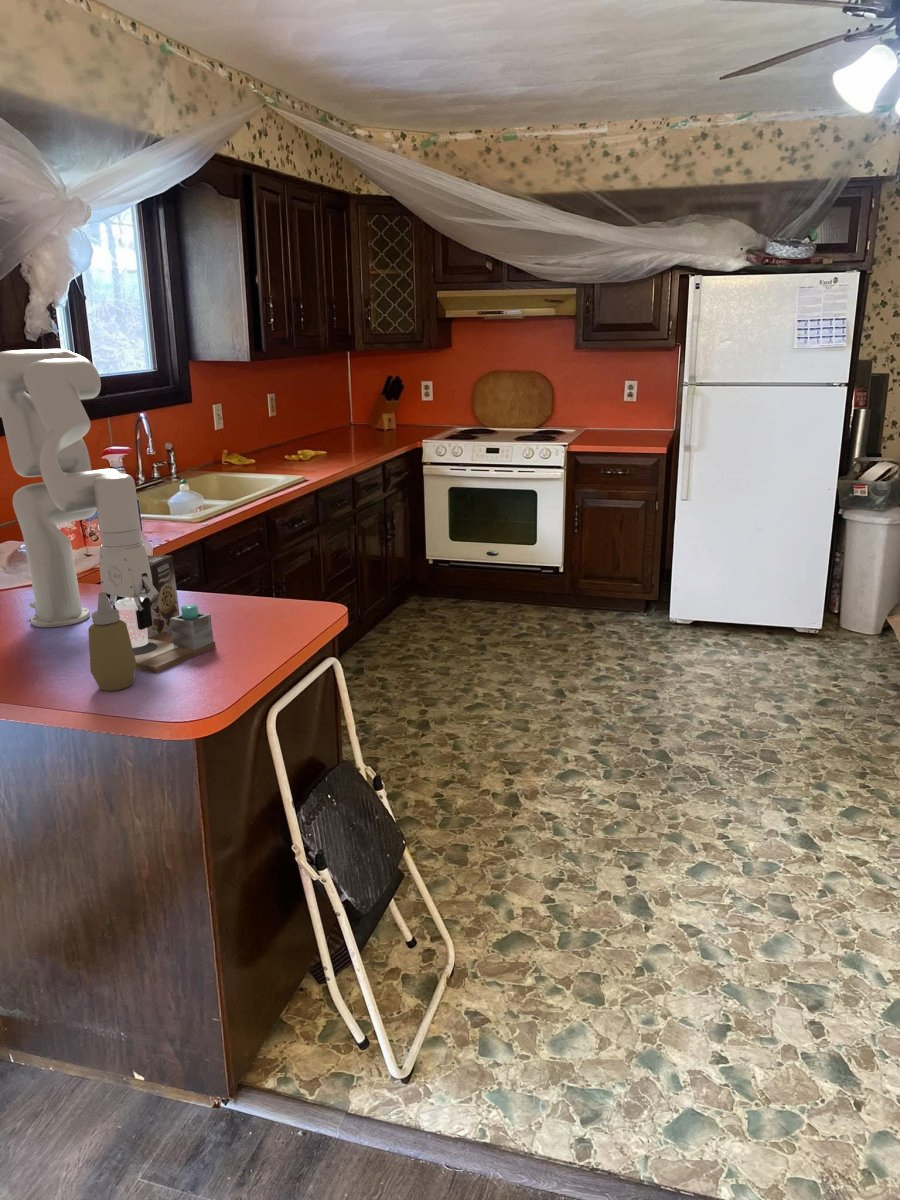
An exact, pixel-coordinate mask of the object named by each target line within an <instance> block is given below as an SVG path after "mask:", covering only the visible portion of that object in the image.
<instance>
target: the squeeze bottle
mask: <svg viewBox="0 0 900 1200" xmlns="http://www.w3.org/2000/svg"><path fill="white" fill-rule="evenodd" d="M97 600H98V601H97V610H96V611H94V612H92V613H91V620H92V624H91V625H90V626H89V627H88V631H87V632H88V648H89V649H88V650H89V667H90V668H89V669H90V673H91V675H92V677H93V678H94V680H95V682H96V684H97V686H98V687H99V689H100V690H102V691H106V692H111V691H112V692H113V691H119V690H123V689H126V688H129V687H131V686H132V685H133V683H134V677H135V674H136V673H135V672H136V670H137V669H136V660H135V656H134V652H133V648H132V644H131V641H130V637H129V633H128V629H127V625H126V623H125V622H123V621H122V620H119V619H120V616H119V611H118V610H117V609H113V606H112V605H111V604H110V599H109V598H108V597H107V595H106V593H105V592H104V591H102V592H99V593H98V599H97Z"/></svg>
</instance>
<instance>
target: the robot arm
mask: <svg viewBox="0 0 900 1200" xmlns="http://www.w3.org/2000/svg"><path fill="white" fill-rule="evenodd" d="M101 387H102V382H101V376H100V374H99V372H98V369H97V368H96V367H95V365H94V364H93V363H92V362H91V361H90V360H89V359H88V358H86V357H85V356H82V355H80V354H78V353H74V352H72V351H71V350H68V349H63V348H48V349H47V348H46V349H45V348H42V349H18V350H17V349H15V350H6V351H0V416H1V420H2V424H3V429H4V434H5V438H6V439H5V440H6V442H7V448H8V453H9V457H10V461H11V464H12V468H13V470H14V471H15V472H16V474H17V475H19V476H21V477H23V478H37V477H38V478H39V477H41V478H42V482H36V483H30V484H27V485H24V486H21V487H20V488H18V489H17V490H16V491H15V492H14V494H13V496H12V507H13V510H14V514H15V515H16V519H17V521H18V525H19V528H20V530H21V533H22V537H23V542H24V547H25V553H26V558H27V563H28V570H29V575H30V581H31V585H32V586H31V587H32V592H33V593H32V594H33V597H34V598H33V599H34V600H33V601H31V602H30V603H29V608H32V609H34V612H35V614H33V615H32V616H31V617H30V623H31V625H32V626H34V627H38V628H58V627H60V628H61V627H65V626H66V627H67V626H69V625H70V626H71V625H74V624H78V623H80V622H83V621H85V620H87V619H88V618H89V617H90V616H91V614H90V613H91V612H90V610H89V608H87V607H84V606H83V607H82V601H81V595H80V589H79V584H78V583H79V581H78V575H77V571H76V565H75V558H74V552H73V546H72V542H71V541H70V539H69V537H68V536H67V535H66V534H65V533H64V532H62V531H61V530H60V529H59V528H58V527H57V526H58V525H61V524H63V523H69V522H70V523H71V522H77V521H82V520H85V519H90V518H92V517H93V516H95V514H96V513H97V520H98V527H99V528H98V529H99V533H100V540H101V544H100V547H99V556H98V557H99V562H98V563H99V575H100V588H101V589H102V592H105V593H106V595H107V597H108V600H109V602H110V605H111V607H112V609H116V608H115V605H114V604H115V602H116V601H118V600H121V599H124V598H134V601H135V603H136V606H137V608H138V610H137V611H136V616H137V624H138V629H140V630H142V629H145V628H148V627H150V626H152V625H153V623H152V616H151V608H150V607H152V604H153V602H154V601H155V599H156V597H157V596H158V594H159V593H158V591H157V590H156V588H155V587H154V586H153V584H152V577H151V571H150V566H149V561H148V557H147V556H148V554H147V551H146V547H145V545H144V544H143V543H144V541H143V536H142V534H143V533H142V527H141V521H140V520H141V519H140V518H141V517H140V513H139V504H138V498H137V497H138V496H137V491H136V483H135V479H134V478H133V476H132V475H130V474H127V473H121V472H120V471H119V470H117V469H115V468H102V469H94V470H92V465H91V460H90V455H89V451H88V448H87V445H86V442H85V441H84V438H83V437H85V436H86V435H87V434H88V432H89V431H90V429H91V426H92V424H91V419H90V418H89V416H88V413H87V412H86V409H85V407H84V406H83V403H82V402H81V400H90V399H94V398H96V397H98V396H99V394H100V392H101ZM141 592H142V593H141ZM140 593H141V594H140ZM142 596H143V598H144V600H143V601H142V602H141V599H140V597H142Z"/></svg>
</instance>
